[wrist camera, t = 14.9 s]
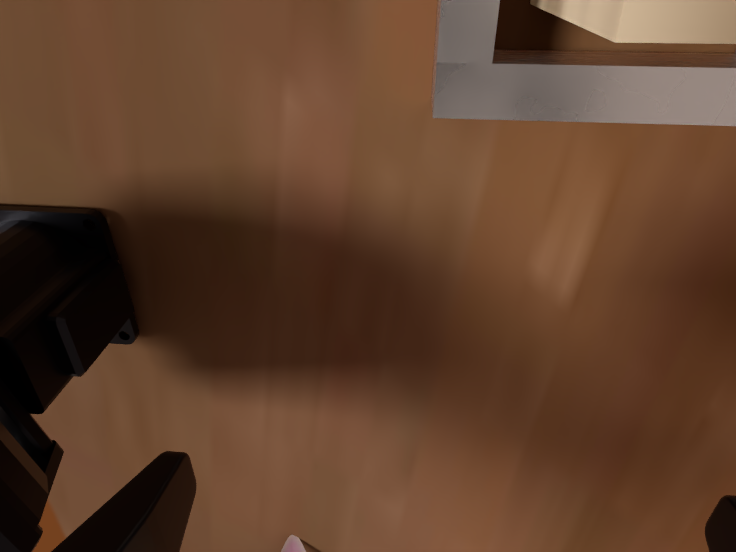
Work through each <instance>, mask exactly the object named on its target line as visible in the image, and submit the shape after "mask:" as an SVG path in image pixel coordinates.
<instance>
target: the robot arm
mask: <svg viewBox="0 0 736 552" xmlns="http://www.w3.org/2000/svg"><path fill="white" fill-rule="evenodd" d="M88 220H91V221H92V222H94V224H95V226H93V225H91V224H90V222H89V221H88ZM125 332H127V333H128V334H126V333H125ZM138 335H139V329H138V326H137V322H136V319H135V315H134V308H133V304H132V301H131V297H130V294H129V291H128V287H127V284H126V280H125V277H124V274H123V270H122V267H121V264H120V263H119V261H118V258H117V255H116V251H115V248H114V244H113V241H112V238H111V234H110V231H109V228H108V224H107V221H106V219H105V217H104V216H103V215H102V214H101V213H100V212H98V211H96V210H92V209H73V208H49V207H25V206H1V205H0V552H32V551H33V550H34V548H35V547H36V545H37V543H38V542H39V540H40V538H41V535H42V532H43V531H42V528H41V527H40V526H39V525H38V524H39V522H40V519H41V516H42V513H43V510H44V507H45V504H46V501H47V498H48V496H49V493H50V490H51V487H52V484H53V481H54V478H55V476H56V473H57V470H58V467H59V464H60V461H61V459H62V456H63V453H64V451H63V450H62V448H61V447H60V446H59V445H58V443H57V442H56V441H55V440H51V439H50V438H49V437H48V436H47V434H46V433H45V432H44V431H43V429H42V428H41V427H40V426H39V424H38V423H37V422H36V421H35V419H34V418H33V417H32V416H31V415H30V414H42V413H43V412H44V411H45V410H46V409H47V408H48V406H49V405H50V404H51V403H52V402H53V400H54V399H55V398H56V397H57V396H58V394H59V393H60V392H61V391H62V389H63V388H64V387H65V386H66V385H67V383H68V382H69V381H70V380H71V379H72V377H73V376H78V377H81V376H82V375H83V374H84V373H85V372H86V371H87V370H88V369H89V367H90V366H91V365H92V364H93V362H94V361H95V360H96V359H97V358H98V356H99V355H100V354H101V353H102V351H103V350H104V349H105V348H106V346H107V345H108V344H109V343H112V344H132V343H133V342H134V341H135V340H136V339H137V337H138ZM195 493H196V479H195V475H194V472H193V468H192V464H191V461H190V458H189V455H188V454H187V453H184V452H173V451H166V452H164V453H162V454H160V455H159V456H158V457H157V458H156V459H154V460H153V461H152V462H151V463H150V464H149V465H148V466H147V467H145V468H144V469H143V470H142V471H141V472H140V473H139V474H138V475H137V476H135V477H134V478H133V479H132V480H131V481H130V482H129V483H128V484H126V485H125V486H124V487H123V488H122V489H121V490H120V491H119V492H117V493H116V494H115V495H114V496H113V497H112V498H111V499H110V500H109V501H107V502H106V503H105V504H104V505H103V506H102V507H101V508H100V509H98V510H97V511H96V512H95V513H94V514H93V515H92V516H91V517H89V518H88V519H87V520H86V521H85V522H84V523H83V524H82V525H81V526H79V527H78V528H77V529H76V530H75V531H74V532H73V533H72V534H70V535H69V536H68V537H67V538H66V539H65V540H64V541H63V542H62V543H60V544H59V545H58V546H57V547H56V548H55V549H54V550H53V551H52V552H179V551H180V548H181V544H182V540H183V537H184V533H185V530H186V526H187V523H188V519H189V515H190V512H191V508H192V505H193V501H194V498H195ZM705 537H706V541H707V545H708V548H709V552H736V496H731V495H726V496H724V497H722V498H721V499H720V501H719V502H718V504H717V506H716V507H715V509H714V511H713V512H712V514H711V516H710V517H709V519H708V521H707V523H706V526H705Z"/></svg>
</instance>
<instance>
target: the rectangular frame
mask: <svg viewBox="0 0 736 552" xmlns="http://www.w3.org/2000/svg"><path fill="white" fill-rule="evenodd" d="M499 4H500V0H438V8H437V23H436V39H435V54H434V69H433V84H432V112H433V118H454V119H492V120H529V121H567V122H605V123H642V124H680V125H718V126H736V51H735V53H675V52H615V51H554V50H494V45H495V37H496V29H497V21H498V12H499Z"/></svg>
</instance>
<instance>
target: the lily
mask: <svg viewBox="0 0 736 552" xmlns="http://www.w3.org/2000/svg"><path fill="white" fill-rule="evenodd" d="M281 552H306V551H305V549H304V546H303V544H302V542H301V541H300V539H299V538H298V537H296V536H294V535H291V536H289V537H288V539H287V541H286V543H285V544H284V546H283V549H282V551H281Z"/></svg>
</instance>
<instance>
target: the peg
mask: <svg viewBox="0 0 736 552" xmlns="http://www.w3.org/2000/svg"><path fill="white" fill-rule="evenodd" d="M530 4H531V5H533V6H535V7H538V8H540V9H542V10H544V11H546V12H549V13H551V14H553V15H555V16H557V17H560V18H562V19H564V20H566V21H568V22H571V23H573V24H575V25H577V26H579V27H582V28H584V29H586V30H588V31H590V32H593V33H595V34H597V35H599V36H602V37H604V38H606V39H608V40H610V41H613V42H615V43H704V44H736V0H531V1H530Z"/></svg>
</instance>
